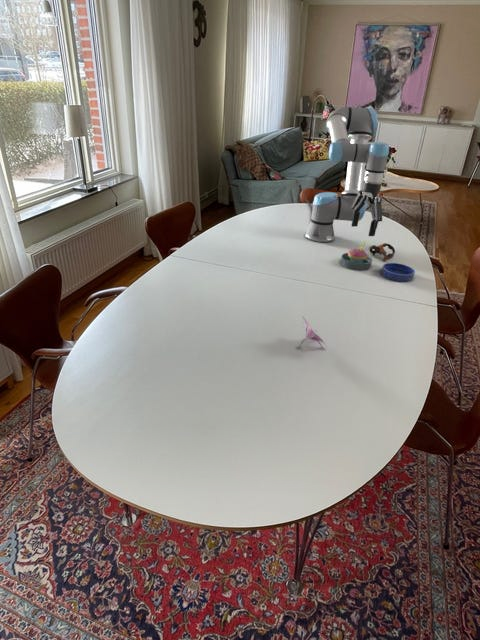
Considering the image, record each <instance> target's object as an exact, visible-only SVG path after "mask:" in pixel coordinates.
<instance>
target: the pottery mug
mask: <svg viewBox="0 0 480 640" xmlns="http://www.w3.org/2000/svg"><path fill="white" fill-rule="evenodd" d="M385 247H387V248H388V249H389V250H391V251H392V253H387V251H386V250H385ZM368 249H369V253H370V254H371V255H372V257H375V255H377V254H378V255H382V256H383V258H382V259H381V261H383V262H386V261H388V260H391V259H393V258H394V256H395V254H396V249H395V248H394V246H393V245H392V244H390V243H388V242H387V243H385V242H383V243H382V244H379V245H375V244H373V245H370V246H369V248H368Z"/></svg>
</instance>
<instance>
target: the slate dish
mask: <svg viewBox="0 0 480 640" xmlns="http://www.w3.org/2000/svg"><path fill="white" fill-rule="evenodd" d="M372 262H373V259H372V258H371V257H370V256H369V255H367V258H366V259H364V260H363V262H362V263H353V262H350V257H349V256H348V252H344V253H343V254H341V257H340V264H341V265H342V266H343V267H345V268H347V269H350V270H355V271H364V270H365V271H366V270H369V269H370V268H371V267H372Z"/></svg>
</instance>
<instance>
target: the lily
mask: <svg viewBox="0 0 480 640" xmlns="http://www.w3.org/2000/svg"><path fill="white" fill-rule="evenodd" d="M300 316H301V318H302V319H303V320H304V322H305V323H304V322H303V323H301V324H302V325H303V326H304V327H305V337H304V339H302V341H301V342H300V343H299V345H298V347H297V348H298V349H300V347H301V346H302V344H303V343H304V342H305V340H306V339H307V340H308V339H310V340H313V341H315V342H317V343H318V345H319V346H320V348H321V349H324V347H323V345H322V343H323V344H324V345H327V344H326V342H324V339H322V337H321V336H320V335H318V334H317V331H318V330H316V329H315V331H314V330H313V328H312V327H311V326H310V324H309V322H308V321H307V319H306V318H305V317H304V316H303V315H301V314H300Z"/></svg>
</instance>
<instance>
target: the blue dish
mask: <svg viewBox="0 0 480 640" xmlns="http://www.w3.org/2000/svg"><path fill="white" fill-rule="evenodd" d="M380 274H381V275H382V276H383V277H385V278H386V279H388V280H392V281H395V282H410V281H412V280H413V279H414V277H415V274H416V270H415V269H414V268H413V267H411V266H410V265H407V264H404V263H399V262H386V263H383V264H382V266H381V270H380Z"/></svg>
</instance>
